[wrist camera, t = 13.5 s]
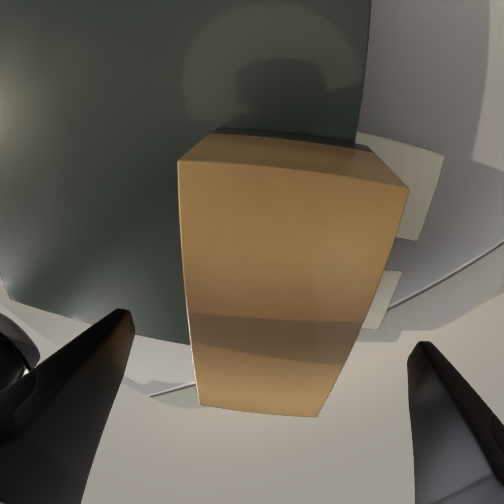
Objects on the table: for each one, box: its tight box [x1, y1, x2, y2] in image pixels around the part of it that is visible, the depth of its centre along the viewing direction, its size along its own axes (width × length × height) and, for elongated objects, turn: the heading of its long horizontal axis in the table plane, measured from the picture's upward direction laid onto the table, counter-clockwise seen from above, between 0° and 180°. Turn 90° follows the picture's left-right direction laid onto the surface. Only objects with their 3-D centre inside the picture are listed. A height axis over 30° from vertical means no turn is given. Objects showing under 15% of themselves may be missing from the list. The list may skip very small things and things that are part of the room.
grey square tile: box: [355, 131, 445, 241], centre depth 11 cm, size 4×4×1 cm
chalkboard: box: [0, 0, 371, 345], centre depth 11 cm, size 20×20×2 cm
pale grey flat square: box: [361, 270, 402, 329], centre depth 15 cm, size 4×4×1 cm
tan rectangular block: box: [177, 128, 410, 417], centre depth 10 cm, size 10×5×4 cm, turn 176°
